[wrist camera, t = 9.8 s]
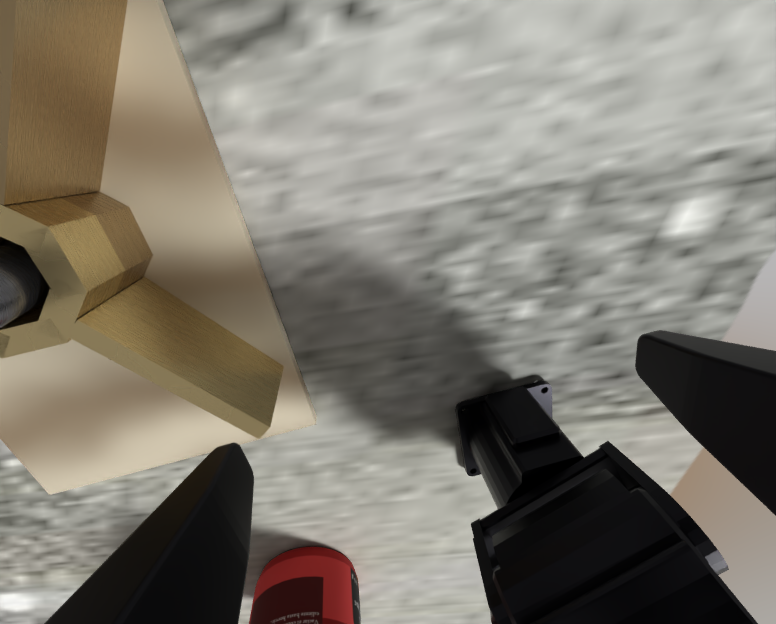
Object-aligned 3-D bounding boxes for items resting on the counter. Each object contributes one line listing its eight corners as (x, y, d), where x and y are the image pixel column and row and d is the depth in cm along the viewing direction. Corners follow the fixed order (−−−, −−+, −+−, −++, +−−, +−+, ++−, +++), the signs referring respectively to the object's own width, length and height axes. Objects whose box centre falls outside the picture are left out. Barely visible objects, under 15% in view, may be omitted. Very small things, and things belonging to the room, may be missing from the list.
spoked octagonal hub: (286, 372, 20) (273, 435, 16) (122, 414, 20) (60, 491, 15) (124, -42, 13) (10, -151, 8) (-145, 11, 12) (-422, -75, 8)
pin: (119, 262, 17) (-34, 360, 10) (71, 274, 17) (-116, 382, 10) (90, 215, 16) (-104, 288, 9) (39, 228, 16) (-198, 312, 9)
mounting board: (316, 415, 23) (316, 424, 22) (59, 483, 22) (49, 494, 21) (149, -34, 14) (139, -45, 13) (-303, 55, 13) (-342, 48, 12)
